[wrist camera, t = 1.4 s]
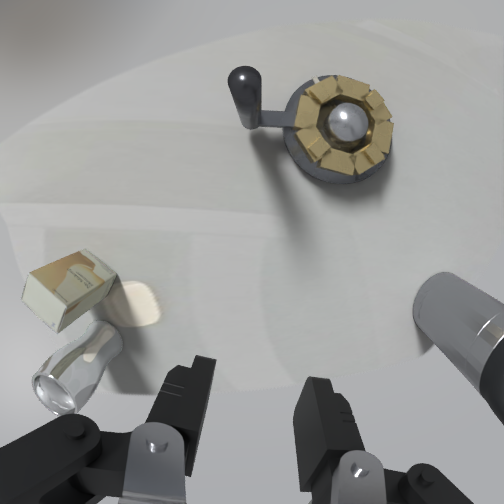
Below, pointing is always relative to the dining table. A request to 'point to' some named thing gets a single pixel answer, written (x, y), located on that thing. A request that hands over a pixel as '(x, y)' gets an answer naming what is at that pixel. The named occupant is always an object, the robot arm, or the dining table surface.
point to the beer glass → (76, 369)
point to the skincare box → (67, 288)
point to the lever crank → (305, 119)
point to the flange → (332, 134)
